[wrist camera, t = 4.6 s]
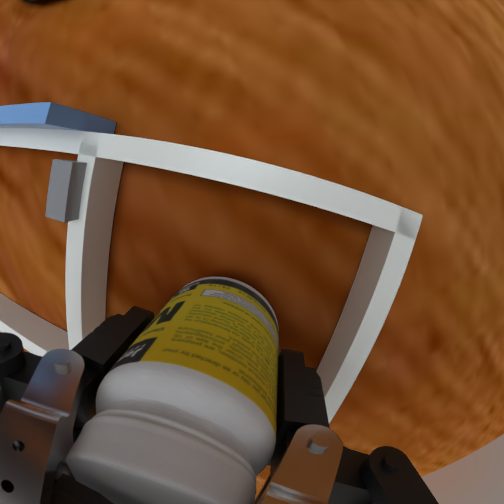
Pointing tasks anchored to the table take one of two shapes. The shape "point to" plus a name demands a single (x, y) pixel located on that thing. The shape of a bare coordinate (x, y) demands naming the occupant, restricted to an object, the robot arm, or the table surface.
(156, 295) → the table surface
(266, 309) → the supplement bottle
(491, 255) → the table surface
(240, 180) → the two-slot divided caddy
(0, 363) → the robot arm
